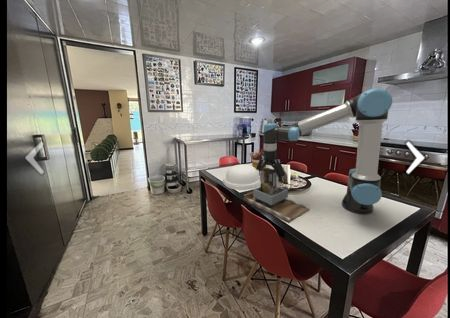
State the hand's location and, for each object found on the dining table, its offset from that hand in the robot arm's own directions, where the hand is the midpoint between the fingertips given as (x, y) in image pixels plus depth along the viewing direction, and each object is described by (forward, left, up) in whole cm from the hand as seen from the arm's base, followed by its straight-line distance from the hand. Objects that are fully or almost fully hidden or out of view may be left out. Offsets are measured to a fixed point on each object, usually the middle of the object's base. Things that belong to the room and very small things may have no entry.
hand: (269, 183), depth 120 cm
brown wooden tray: (-4, 0, -13) cm, 13 cm away
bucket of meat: (+54, -48, -13) cm, 74 cm away
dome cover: (+37, -10, -13) cm, 41 cm away
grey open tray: (-1, 0, -12) cm, 12 cm away
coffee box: (0, 0, -8) cm, 8 cm away
